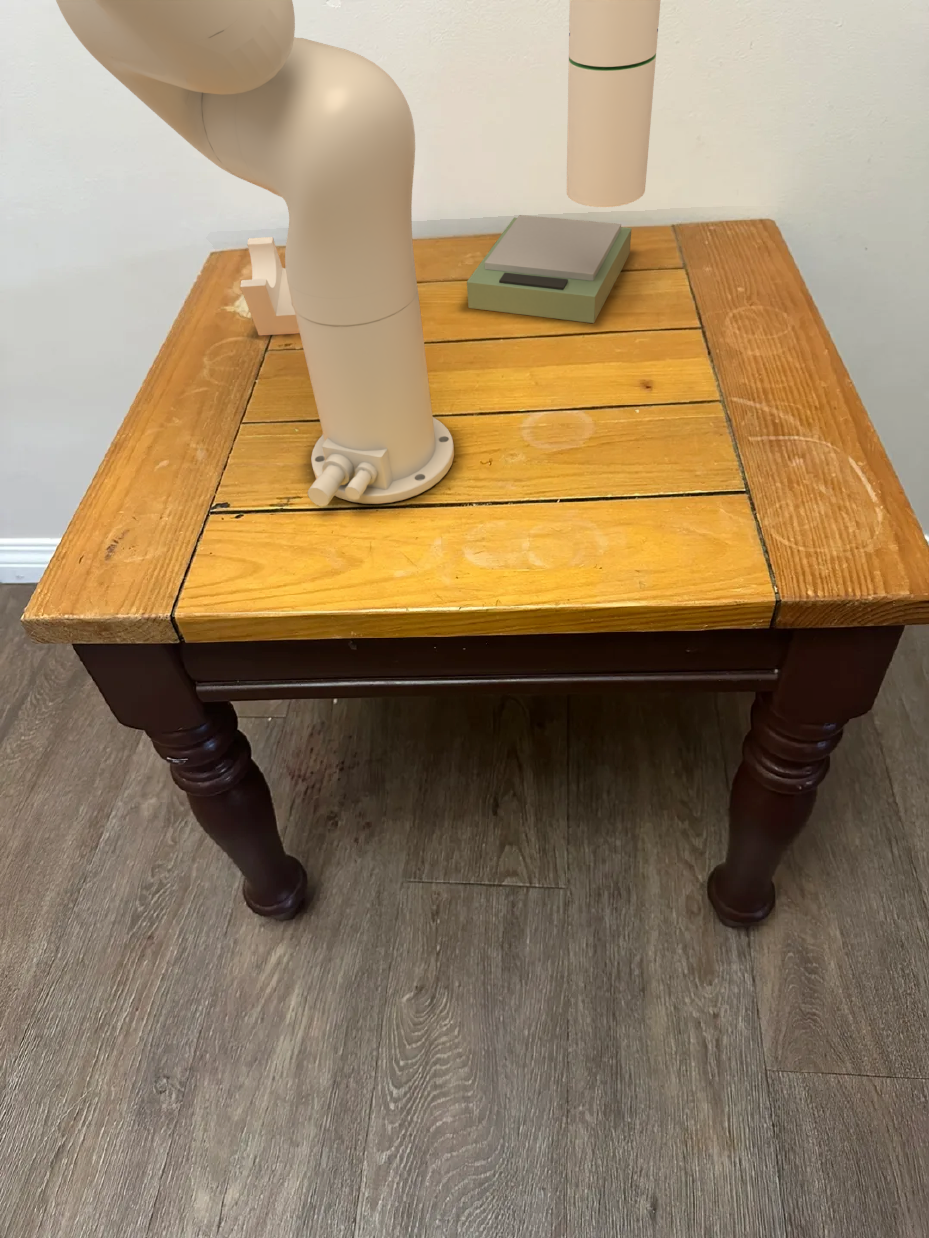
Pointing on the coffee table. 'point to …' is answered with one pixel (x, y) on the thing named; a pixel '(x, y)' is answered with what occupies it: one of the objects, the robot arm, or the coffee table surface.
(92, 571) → the coffee table surface
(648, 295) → the coffee table surface
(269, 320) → the bracket
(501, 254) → the kitchen scale
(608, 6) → the cylindrical container
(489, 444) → the coffee table surface
